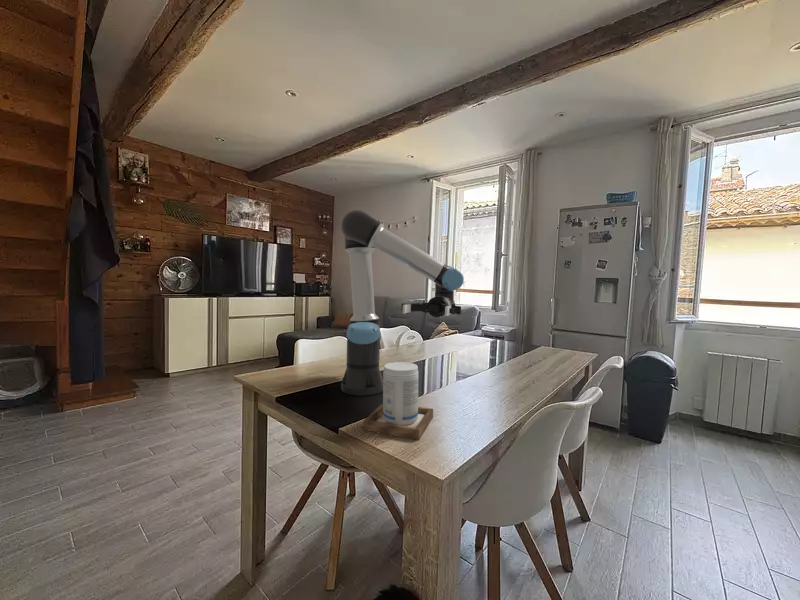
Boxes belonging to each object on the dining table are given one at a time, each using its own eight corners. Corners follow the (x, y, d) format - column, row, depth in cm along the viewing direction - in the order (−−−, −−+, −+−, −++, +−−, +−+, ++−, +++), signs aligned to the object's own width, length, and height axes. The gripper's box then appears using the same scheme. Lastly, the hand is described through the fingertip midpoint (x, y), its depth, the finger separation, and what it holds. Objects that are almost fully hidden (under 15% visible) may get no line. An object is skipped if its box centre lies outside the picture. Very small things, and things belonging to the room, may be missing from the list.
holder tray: (363, 430, 85) (363, 420, 85) (384, 409, 100) (384, 401, 99) (419, 440, 81) (419, 430, 80) (433, 417, 95) (433, 408, 95)
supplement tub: (416, 412, 95) (418, 362, 94) (419, 427, 85) (420, 370, 85) (382, 412, 95) (384, 361, 94) (381, 426, 85) (382, 369, 85)
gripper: (472, 318, 119) (464, 324, 99) (406, 314, 127) (386, 320, 107) (473, 297, 119) (465, 299, 99) (407, 295, 127) (387, 296, 107)
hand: (424, 310), depth 103 cm, fingers open, 13 cm apart
